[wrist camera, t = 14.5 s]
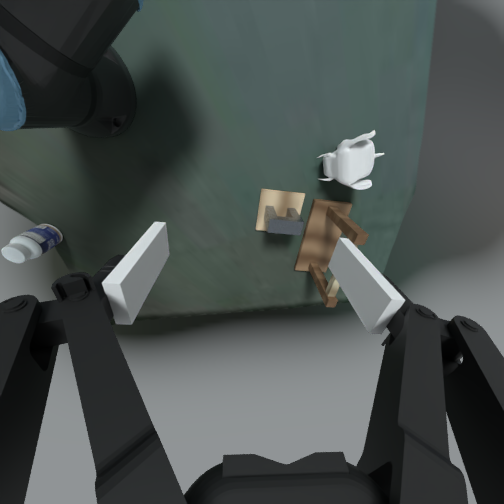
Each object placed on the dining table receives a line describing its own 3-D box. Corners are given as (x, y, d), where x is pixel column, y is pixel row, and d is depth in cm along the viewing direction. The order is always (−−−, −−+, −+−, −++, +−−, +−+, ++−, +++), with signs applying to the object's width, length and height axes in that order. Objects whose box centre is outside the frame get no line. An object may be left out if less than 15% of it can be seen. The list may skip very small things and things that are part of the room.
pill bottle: (58, 246, 51) (23, 270, 43) (34, 233, 49) (-7, 255, 41) (67, 233, 50) (33, 255, 41) (42, 218, 47) (1, 238, 39)
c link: (263, 217, 49) (267, 232, 42) (265, 205, 47) (269, 219, 41) (292, 220, 50) (300, 235, 43) (295, 208, 48) (303, 222, 41)
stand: (324, 269, 59) (348, 311, 46) (294, 267, 58) (309, 309, 45) (350, 202, 49) (389, 231, 36) (313, 198, 48) (341, 227, 35)
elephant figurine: (310, 142, 42) (326, 146, 34) (371, 124, 40) (401, 125, 33) (315, 188, 47) (329, 200, 39) (368, 173, 45) (394, 184, 38)
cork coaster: (255, 228, 51) (255, 229, 51) (261, 188, 46) (261, 189, 45) (294, 232, 52) (295, 233, 52) (304, 193, 47) (305, 194, 46)
